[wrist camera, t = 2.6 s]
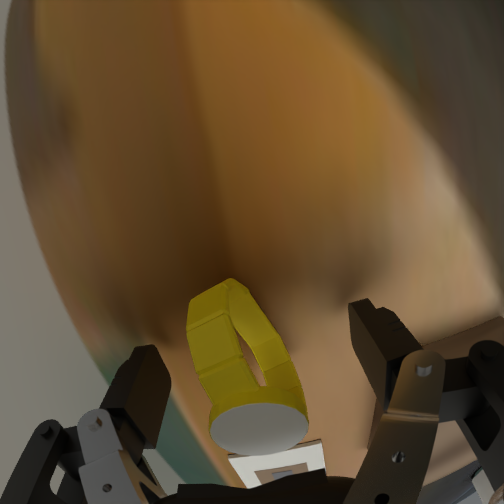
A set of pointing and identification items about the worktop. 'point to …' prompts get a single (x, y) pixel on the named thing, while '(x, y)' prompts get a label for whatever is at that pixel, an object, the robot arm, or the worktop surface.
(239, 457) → the card
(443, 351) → the walnut block
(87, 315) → the worktop surface
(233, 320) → the watch
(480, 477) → the can
